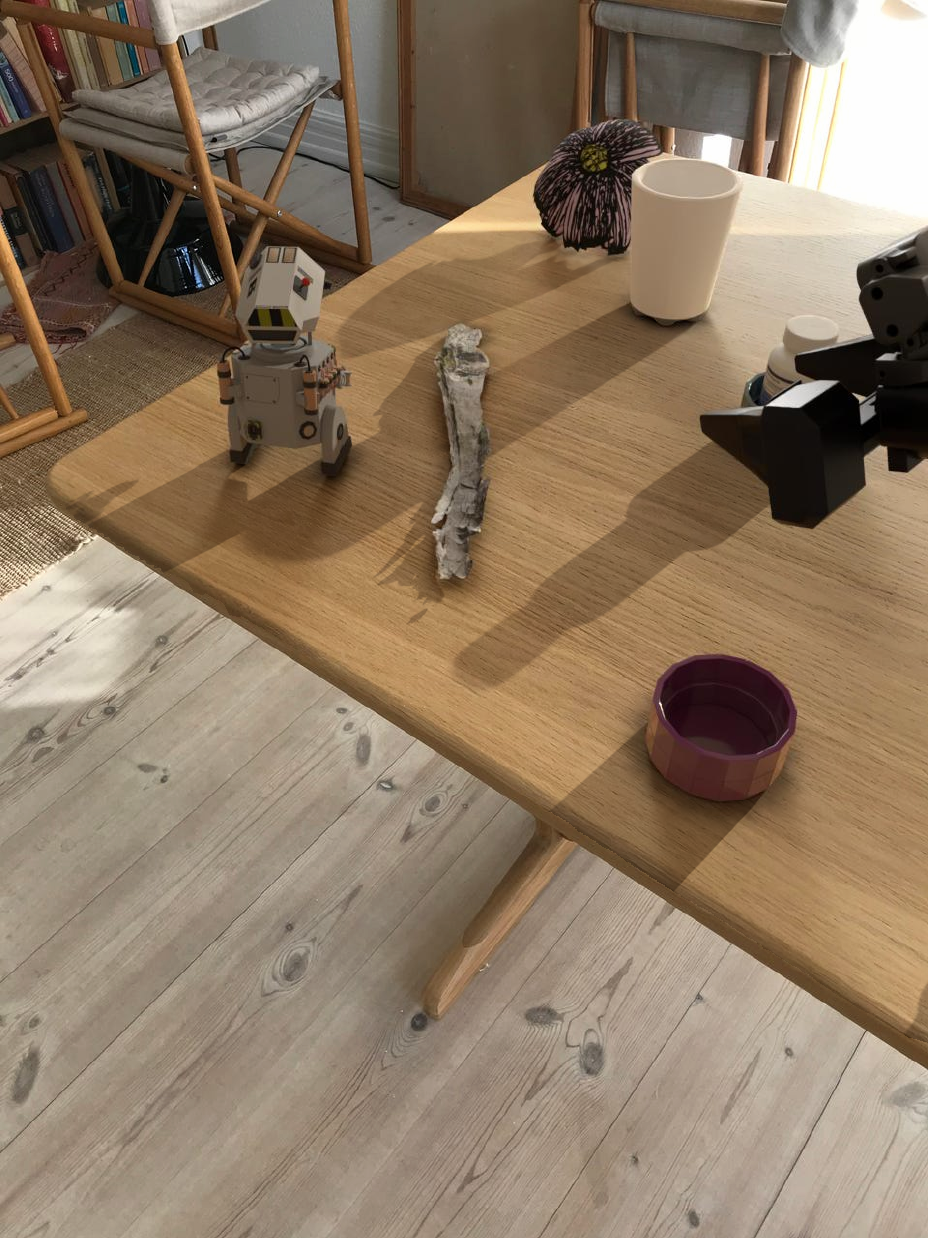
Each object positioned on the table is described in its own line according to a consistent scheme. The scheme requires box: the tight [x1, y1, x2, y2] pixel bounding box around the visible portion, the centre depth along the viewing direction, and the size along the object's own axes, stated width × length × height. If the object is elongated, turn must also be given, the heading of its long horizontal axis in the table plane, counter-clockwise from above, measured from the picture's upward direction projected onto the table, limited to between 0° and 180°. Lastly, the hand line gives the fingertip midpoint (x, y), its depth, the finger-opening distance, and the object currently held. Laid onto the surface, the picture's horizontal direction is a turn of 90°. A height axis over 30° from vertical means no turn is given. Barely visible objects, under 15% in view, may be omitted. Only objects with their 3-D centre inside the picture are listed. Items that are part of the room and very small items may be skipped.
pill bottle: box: [758, 314, 841, 406], centre depth 80 cm, size 5×5×10 cm
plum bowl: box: [644, 653, 798, 802], centre depth 59 cm, size 8×8×4 cm
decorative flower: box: [532, 118, 665, 256], centre depth 109 cm, size 15×12×15 cm
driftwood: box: [430, 322, 492, 580], centre depth 83 cm, size 37×2×5 cm
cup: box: [629, 157, 744, 327], centre depth 95 cm, size 10×10×13 cm
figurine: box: [216, 245, 353, 477], centre depth 78 cm, size 9×12×15 cm
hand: (750, 391), depth 58 cm, fingers open, 9 cm apart
